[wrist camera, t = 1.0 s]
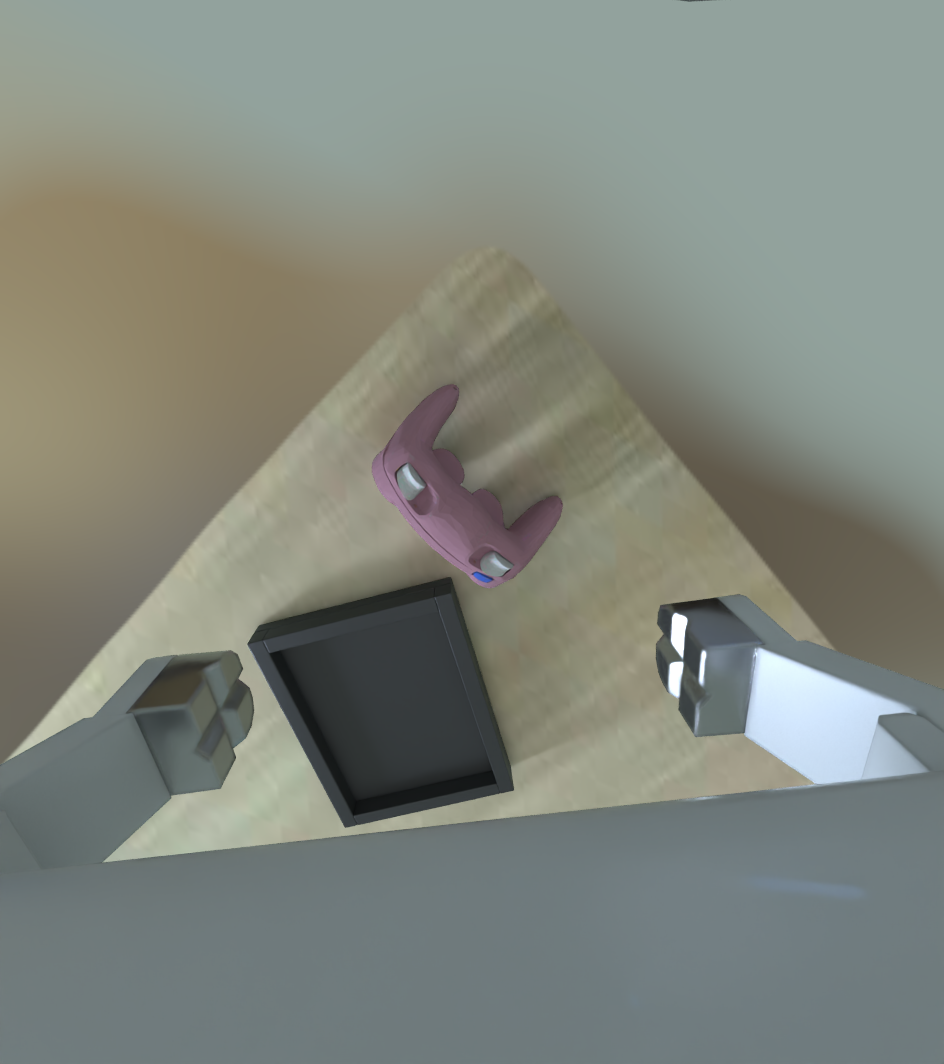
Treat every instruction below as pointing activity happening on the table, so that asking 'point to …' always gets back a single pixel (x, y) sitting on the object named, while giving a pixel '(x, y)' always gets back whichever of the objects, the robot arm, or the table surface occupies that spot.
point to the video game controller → (456, 500)
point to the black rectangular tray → (387, 702)
